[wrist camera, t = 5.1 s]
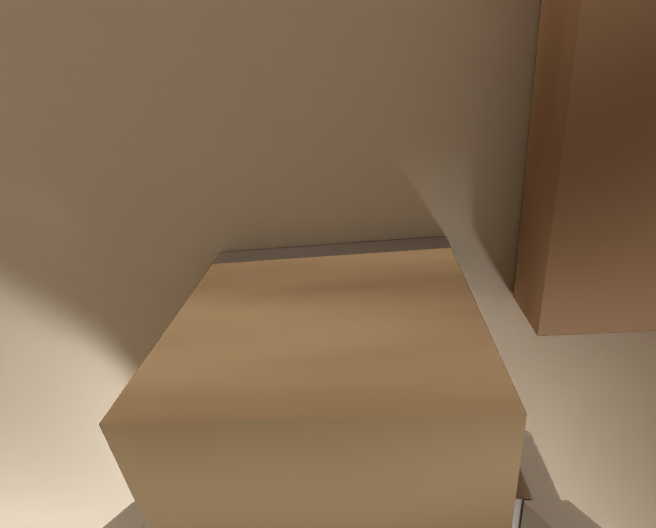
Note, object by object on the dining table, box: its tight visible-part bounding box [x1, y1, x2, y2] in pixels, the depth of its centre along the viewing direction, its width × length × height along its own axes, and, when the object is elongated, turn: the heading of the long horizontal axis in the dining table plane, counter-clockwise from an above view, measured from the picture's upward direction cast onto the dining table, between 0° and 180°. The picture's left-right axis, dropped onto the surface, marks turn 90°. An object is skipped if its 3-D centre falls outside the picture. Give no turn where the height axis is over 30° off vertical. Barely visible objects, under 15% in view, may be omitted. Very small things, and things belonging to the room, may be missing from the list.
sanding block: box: [99, 236, 527, 528], centre depth 9 cm, size 9×5×5 cm, turn 6°
